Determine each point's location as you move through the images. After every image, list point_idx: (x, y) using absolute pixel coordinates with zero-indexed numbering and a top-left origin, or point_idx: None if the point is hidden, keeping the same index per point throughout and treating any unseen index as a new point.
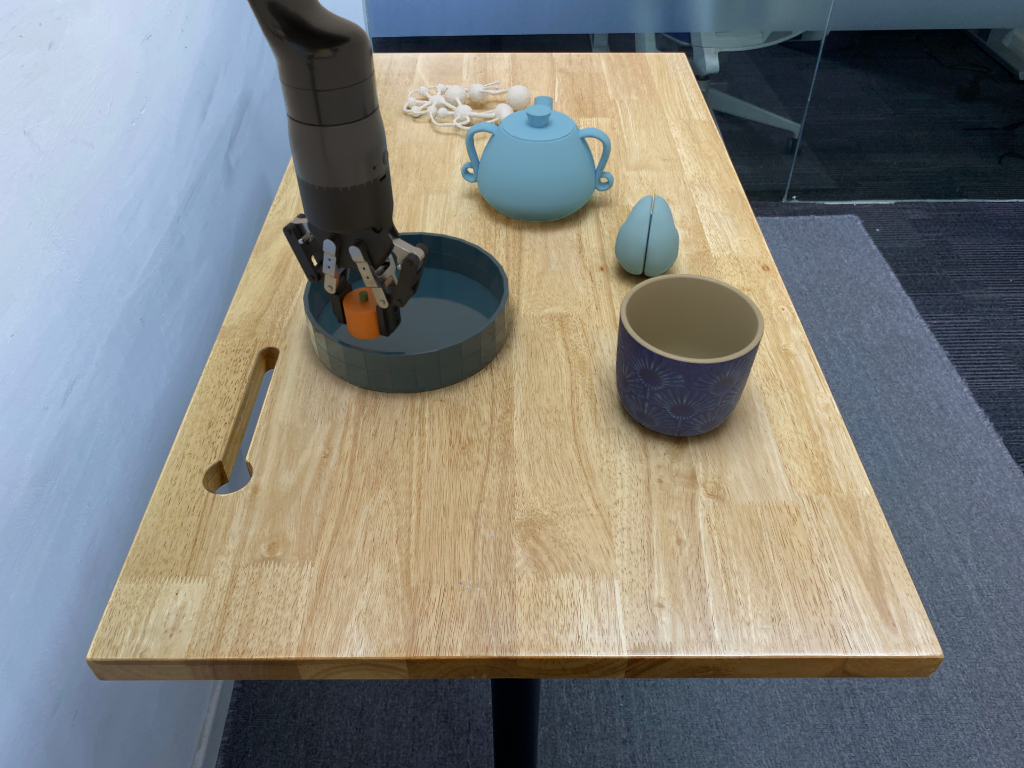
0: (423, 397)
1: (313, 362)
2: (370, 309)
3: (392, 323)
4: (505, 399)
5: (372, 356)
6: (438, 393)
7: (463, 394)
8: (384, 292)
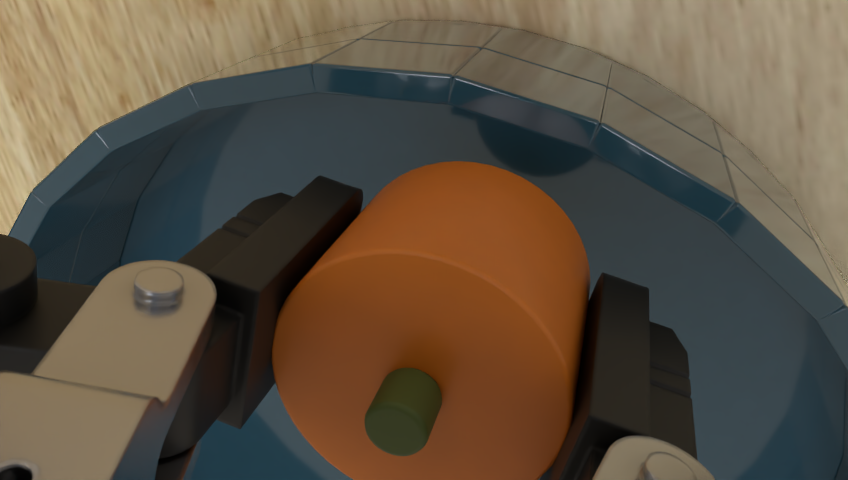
0: (279, 10)
1: (827, 186)
2: (332, 290)
3: (238, 221)
4: (11, 39)
5: (410, 64)
6: (233, 42)
7: (147, 48)
8: (53, 349)
